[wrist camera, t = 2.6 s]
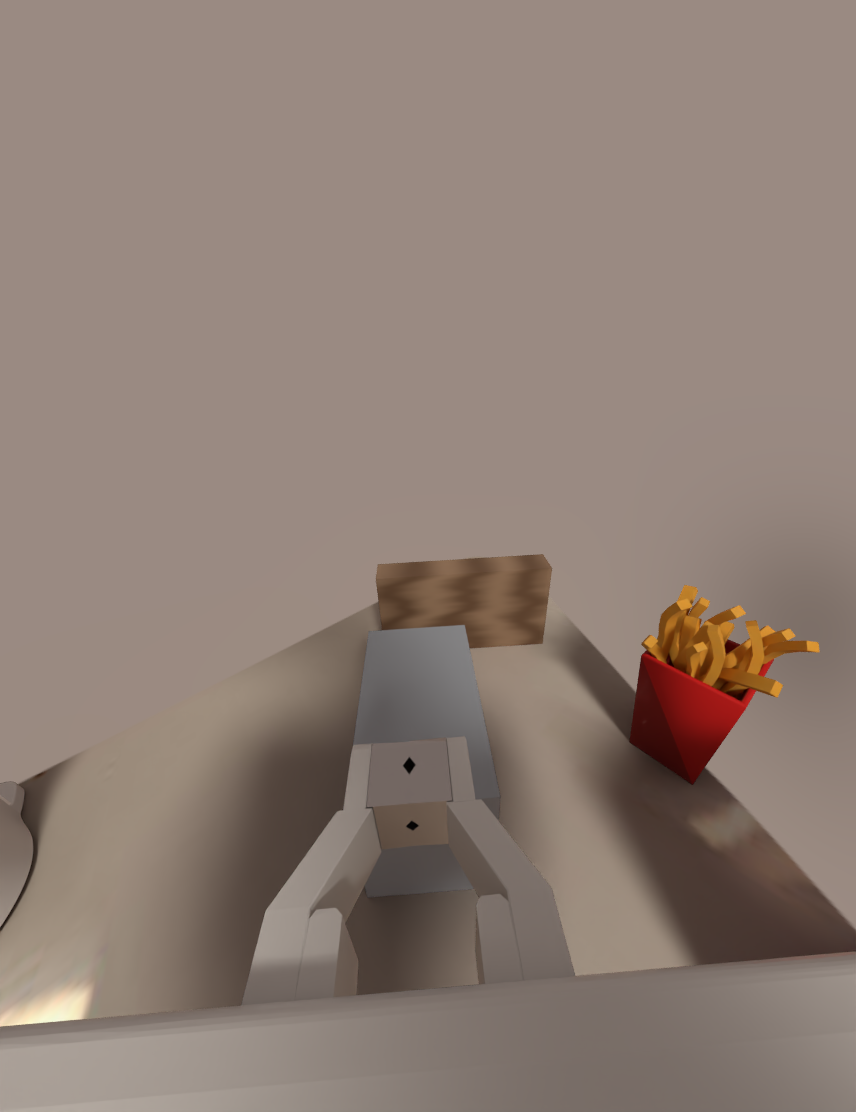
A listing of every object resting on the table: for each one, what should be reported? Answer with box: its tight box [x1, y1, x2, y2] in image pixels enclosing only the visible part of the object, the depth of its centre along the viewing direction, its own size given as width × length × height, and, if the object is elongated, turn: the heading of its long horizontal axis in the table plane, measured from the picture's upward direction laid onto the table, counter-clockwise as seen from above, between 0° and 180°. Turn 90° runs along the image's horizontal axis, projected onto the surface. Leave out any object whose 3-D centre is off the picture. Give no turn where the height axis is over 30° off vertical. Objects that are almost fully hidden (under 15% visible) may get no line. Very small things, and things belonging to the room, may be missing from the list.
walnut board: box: [376, 554, 552, 648], centre depth 43 cm, size 18×3×10 cm, turn 93°
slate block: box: [353, 625, 500, 897], centre depth 28 cm, size 8×14×10 cm, turn 3°
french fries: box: [630, 585, 819, 785], centre depth 28 cm, size 9×8×15 cm
